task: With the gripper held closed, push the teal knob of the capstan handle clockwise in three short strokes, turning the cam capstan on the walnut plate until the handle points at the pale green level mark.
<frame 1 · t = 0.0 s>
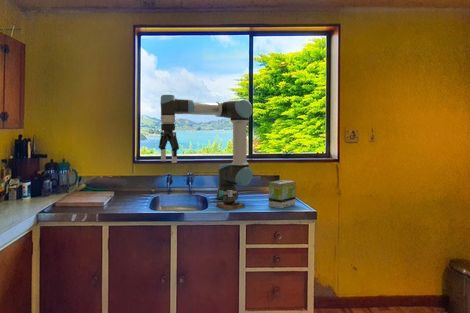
hand: (168, 161, 194), 28 cm above the worktop, tool pointing down, fingers open, 13 cm apart
tea box: (282, 206, 211), on the worktop
cam capstan: (226, 196, 204), point 7 cm above the worktop, hinge at 0.0°
stand: (230, 207, 207), on the worktop
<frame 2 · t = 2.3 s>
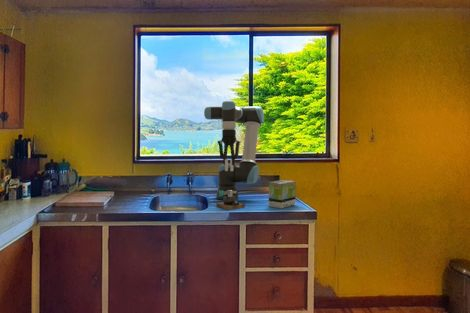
hand: (229, 170, 198), 23 cm above the worktop, tool pointing down, fingers open, 3 cm apart
nothing on the worktop moved.
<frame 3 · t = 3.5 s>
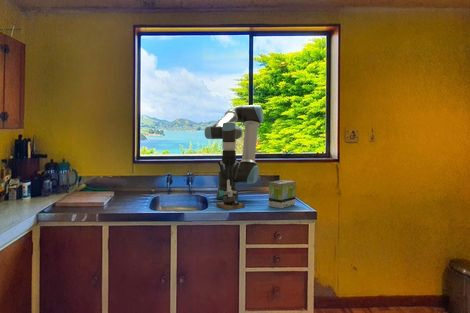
hand: (229, 191, 198), 11 cm above the worktop, tool pointing down, fingers closed
nothing on the worktop moved.
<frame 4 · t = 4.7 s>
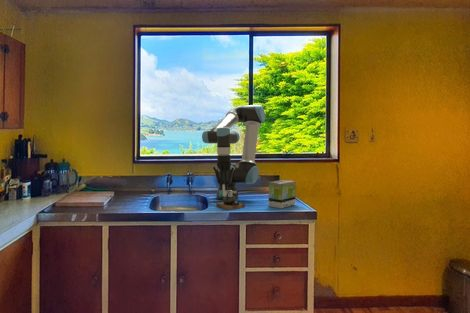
hand: (224, 195, 200), 8 cm above the worktop, tool pointing down, fingers closed
cam capstan: (226, 196, 204), point 7 cm above the worktop, hinge at -1.4°, touching gripper
everything else where it was.
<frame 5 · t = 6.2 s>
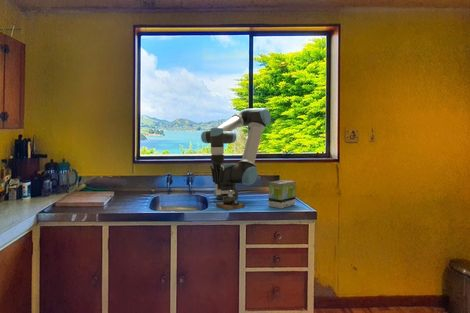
hand: (218, 194, 204), 8 cm above the worktop, tool pointing down, fingers closed
cam capstan: (224, 196, 207), point 7 cm above the worktop, hinge at -45.6°, touching gripper
everything else where it was.
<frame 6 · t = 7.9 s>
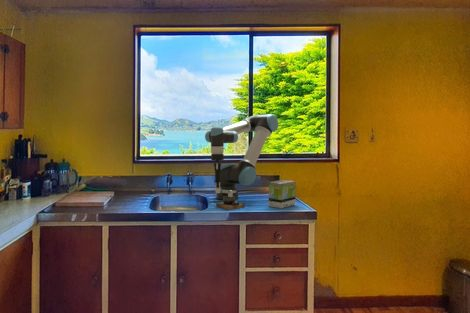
hand: (217, 192, 209), 8 cm above the worktop, tool pointing down, fingers closed
cam capstan: (225, 195, 209), point 7 cm above the worktop, hinge at -84.4°, touching gripper
everything else where it was.
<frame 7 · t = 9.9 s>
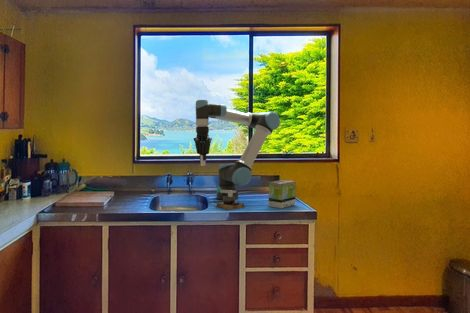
hand: (203, 165, 210), 24 cm above the worktop, tool pointing down, fingers closed
cam capstan: (225, 195, 209), point 7 cm above the worktop, hinge at -84.4°
everything else where it was.
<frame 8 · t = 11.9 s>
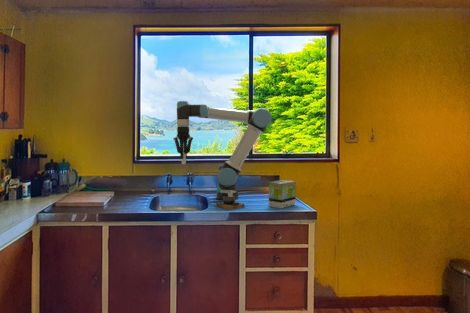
hand: (183, 163, 220), 24 cm above the worktop, tool pointing down, fingers closed
nothing on the worktop moved.
at the end: cam capstan at -84° (first picture: +0°); tea box moved 0.3 cm from its start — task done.
